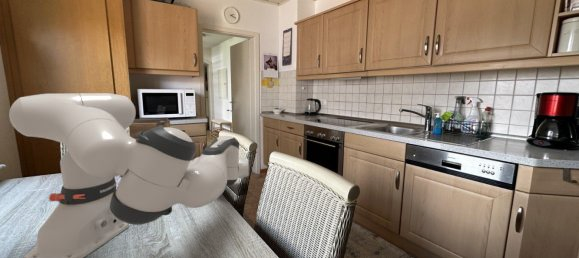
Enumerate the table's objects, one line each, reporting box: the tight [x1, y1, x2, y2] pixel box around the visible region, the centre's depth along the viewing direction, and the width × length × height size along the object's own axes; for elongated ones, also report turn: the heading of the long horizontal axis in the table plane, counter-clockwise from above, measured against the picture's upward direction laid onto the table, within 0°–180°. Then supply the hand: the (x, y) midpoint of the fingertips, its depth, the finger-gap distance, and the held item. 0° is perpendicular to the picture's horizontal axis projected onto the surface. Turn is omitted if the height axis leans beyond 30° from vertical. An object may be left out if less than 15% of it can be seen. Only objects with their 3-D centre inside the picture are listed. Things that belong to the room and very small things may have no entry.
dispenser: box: [128, 116, 171, 139], centre depth 111 cm, size 11×12×28 cm
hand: (176, 167), depth 102 cm, fingers closed on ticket, 4 cm apart
